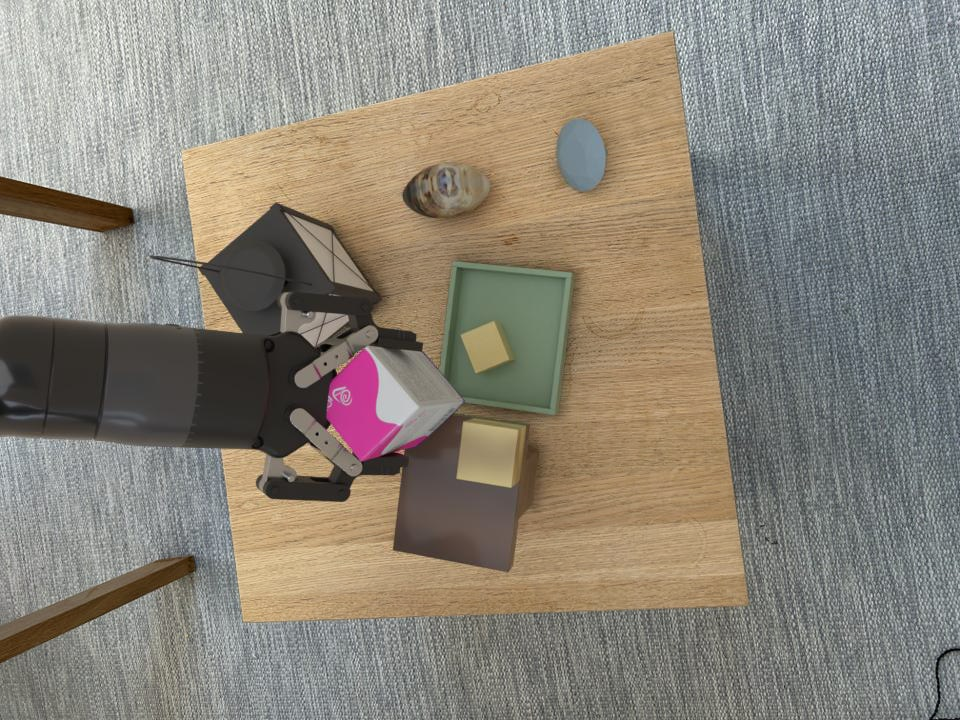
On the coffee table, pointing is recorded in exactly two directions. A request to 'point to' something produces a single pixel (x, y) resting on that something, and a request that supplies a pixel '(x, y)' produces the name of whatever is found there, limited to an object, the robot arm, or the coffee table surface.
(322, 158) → the coffee table surface
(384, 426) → the supplement box
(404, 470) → the butter stand
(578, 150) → the blue-grey stone
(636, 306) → the coffee table surface
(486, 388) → the butter dish
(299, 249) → the lantern
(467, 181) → the seashell
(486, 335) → the butter pat
